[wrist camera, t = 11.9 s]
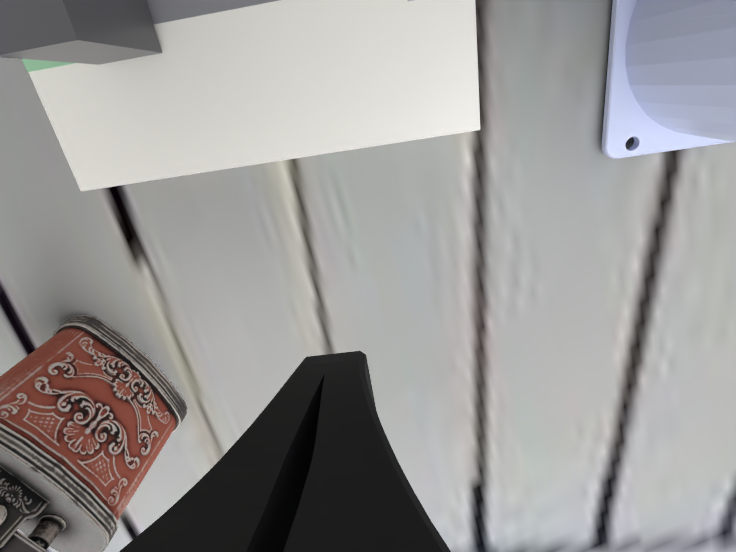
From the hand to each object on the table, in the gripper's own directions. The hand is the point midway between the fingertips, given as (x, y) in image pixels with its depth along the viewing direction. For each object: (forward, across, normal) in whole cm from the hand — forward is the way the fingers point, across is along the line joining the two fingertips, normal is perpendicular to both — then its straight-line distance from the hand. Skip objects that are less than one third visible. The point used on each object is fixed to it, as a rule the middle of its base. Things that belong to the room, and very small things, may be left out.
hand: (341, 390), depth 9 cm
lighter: (+11, +14, +6) cm, 18 cm away
